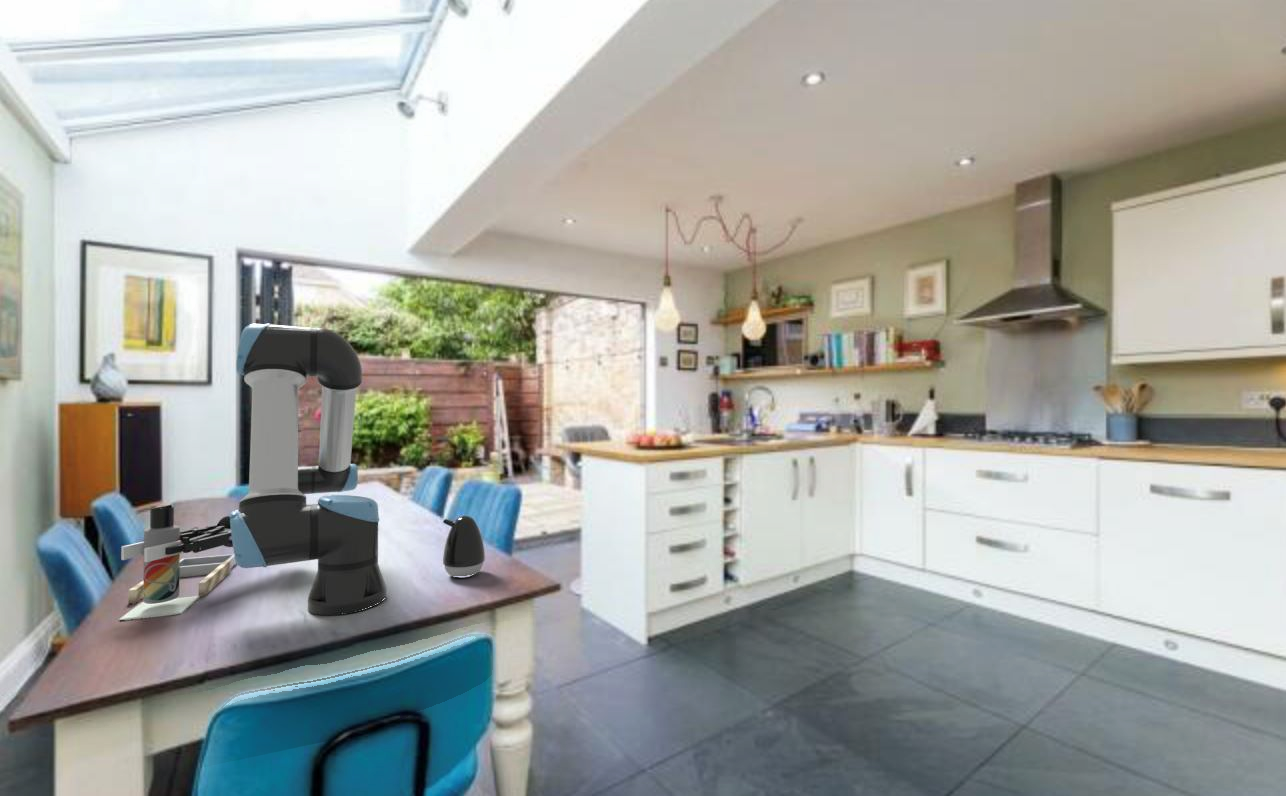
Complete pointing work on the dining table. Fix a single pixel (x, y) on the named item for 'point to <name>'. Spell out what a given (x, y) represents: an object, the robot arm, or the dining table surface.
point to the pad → (160, 608)
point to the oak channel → (204, 585)
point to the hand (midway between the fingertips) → (134, 554)
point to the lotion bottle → (164, 571)
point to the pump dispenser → (463, 547)
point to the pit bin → (203, 564)
